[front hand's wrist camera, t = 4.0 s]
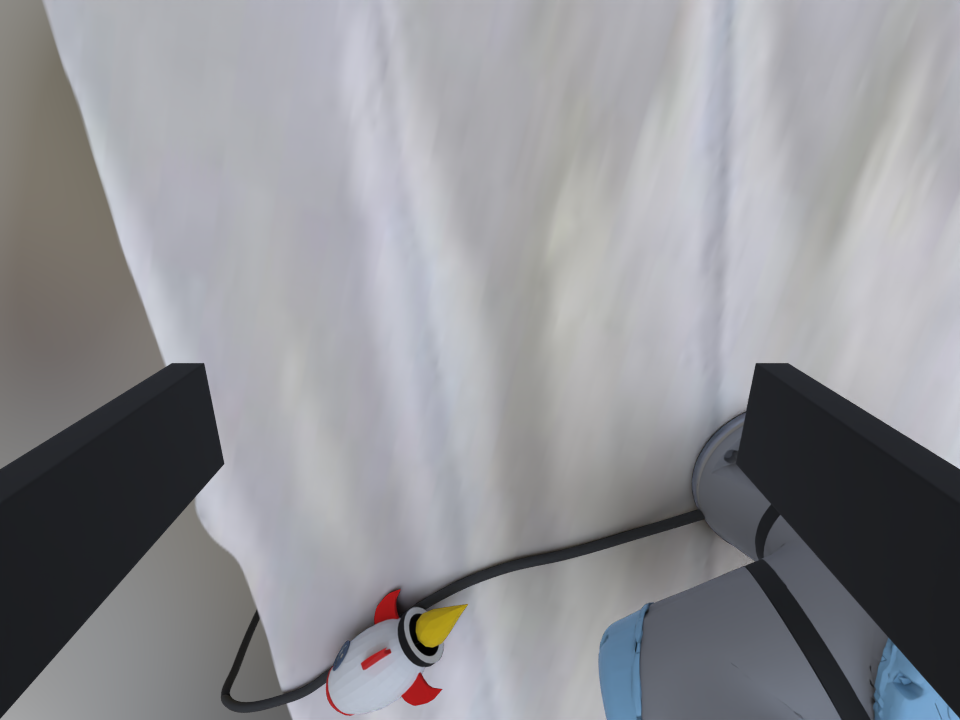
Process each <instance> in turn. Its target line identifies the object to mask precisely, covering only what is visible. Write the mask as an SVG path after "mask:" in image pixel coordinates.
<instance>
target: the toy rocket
mask: <svg viewBox="0 0 960 720" xmlns="http://www.w3.org/2000/svg"><path fill="white" fill-rule="evenodd" d="M400 590H401V589H399V590H397V591H394V592H391V593H389V594H388V595H386V596H385V597H384V599H383V600H382V601H381V602H380V603H379V605H378V606H377V608H376V611H375V616H374V624H375V625H373V626H372V627H370V628H368V629H366V630H365V631H363V632H362V633H360V634H359V635H358V636H357V637H355V638H354V639H353V640H352V641H347V642H346V643H345V644H344V645H343V647H342V648H341V650H340V652H339V653H338V655H337V657H336V659H335V662H334V665H333V666H332V667H331V669H330V671H329V673H328V677H327V682H326V695H327V699H328V701H329V703H330V705H331V706H332V707H333V708H334V709H335V710H336V711H338V712H340V713H342V714H344V715H349V716H351V715H355V714H366V713H370V712H373V711H376V710H379V709H382V708H384V707H386V706H388V705H389V704H391V703H393V702H394V701H396V700H397V699H399V698H400V697H402V698H403V699H404V700H405V701H406V702H407V703H409V704H411V705H414V706H417V705H421V704H425V703H428V702H430V701H431V700H433V699H434V698H435V697H436V696H437V695H438V694H439V693H440V691H441V690H442V689H438V688H432V687H431V686H429V685H428V684H427V682H426V681H425V679H424V678H423V676H422V673H423V672H424V669H425V667H429V666H431V665H433V664H434V663H436V662H437V661H439V659H440V658H441V657H442V653H443V647H444V644H443V641H444V640H445V638H446V637H447V636H448V634H449V633H450V631H451V630H452V628H453V627H454V625H455V623H456V622H457V620H458V618H459V617H460V615H461V614H462V612H463V611H464V610H465V608H466V607H467V605H468V604H465V605H457V606H450V607H444V608H437V609H432V610H430V611H426V610H424V609H423V608H420V607H413V608H411V609H409V610H408V611H407V612H405V613H404V614H403V615H402V617H401V618H399V616H398V613H397V607H396V600H397V597H398V594H399V592H400Z"/></svg>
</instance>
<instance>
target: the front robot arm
mask: <svg viewBox="0 0 960 720" xmlns="http://www.w3.org/2000/svg"><path fill="white" fill-rule="evenodd" d="M223 465H224V460H223V455H222V450H221V445H220V440H219V435H218V430H217V425H216V420H215V415H214V410H213V405H212V400H211V395H210V390H209V385H208V380H207V375H206V370H205V365H204V363H172V364H170V365H168V366H167V367H165V368H164V369H162V370H160V371H159V372H157V373H155V374H154V375H152V376H151V377H149V378H147V379H146V380H144V381H143V382H141V383H139V384H138V385H136V386H134V387H133V388H131V389H130V390H128V391H126V392H125V393H123V394H121V395H120V396H118V397H117V398H115V399H113V400H112V401H110V402H109V403H107V404H105V405H104V406H102V407H100V408H99V409H97V410H96V411H94V412H92V413H91V414H89V415H87V416H86V417H84V418H83V419H81V420H79V421H78V422H76V423H74V424H73V425H71V426H70V427H68V428H66V429H65V430H63V431H62V432H60V433H58V434H57V435H55V436H53V437H52V438H50V439H49V440H47V441H45V442H44V443H42V444H41V445H39V446H37V447H36V448H34V449H32V450H31V451H29V452H27V453H26V454H24V455H23V456H21V457H19V458H18V459H16V460H15V461H13V462H11V463H10V464H8V465H7V466H5V467H3V468H2V469H0V718H1V717H2V716H3V715H4V714H5V713H6V712H7V710H8V709H9V708H10V707H11V706H12V705H13V704H14V703H15V701H16V700H17V699H18V698H19V697H20V696H21V695H22V693H23V692H24V691H25V690H26V689H27V688H28V687H29V685H30V684H31V683H32V682H33V681H34V680H35V679H36V677H37V676H38V675H39V674H40V673H41V672H42V671H43V670H44V668H45V667H46V666H47V665H48V664H49V663H50V662H51V660H52V659H53V658H54V657H55V656H56V655H57V654H58V652H59V651H60V650H61V649H62V648H63V647H64V646H65V644H66V643H67V642H68V641H69V640H70V639H71V638H72V637H73V635H74V634H75V633H76V632H77V631H78V630H79V629H80V627H81V626H82V625H83V624H84V623H85V622H86V621H87V619H88V618H89V617H90V616H91V615H92V614H93V613H94V611H95V610H96V609H97V608H98V607H99V606H100V605H101V603H102V602H103V601H104V600H105V599H106V598H107V597H108V596H109V594H110V593H111V592H112V591H113V590H114V589H115V588H116V586H117V585H118V584H119V583H120V582H121V581H122V580H123V578H124V577H125V576H126V575H127V574H128V573H129V572H130V571H131V569H132V568H133V567H134V566H135V565H136V564H137V563H138V561H139V560H140V559H141V558H142V557H143V556H144V555H145V553H146V552H147V551H148V550H149V549H150V548H151V547H152V546H153V544H154V543H155V542H156V541H157V540H158V539H159V538H160V536H161V535H162V534H163V533H164V532H165V531H166V530H167V528H168V527H169V526H170V525H171V524H172V523H173V522H174V520H175V519H176V518H177V517H178V516H179V515H180V514H181V513H182V511H183V510H184V509H185V508H186V507H187V506H188V505H189V503H190V502H191V501H192V500H193V499H194V498H195V497H196V495H197V494H198V493H199V492H200V491H201V490H202V489H203V488H204V486H205V485H206V484H207V483H208V482H209V481H210V480H211V478H212V477H213V476H214V475H215V474H216V473H217V472H218V470H219V469H220V468H221V467H222V466H223ZM692 491H693V497H694V500H695V503H696V505H697V508H698V510H695V511H692V512H689V513H685V514H682V515H679V516H676V517H673V518H669V519H666V520H663V521H660V522H656V523H653V524H650V525H646V526H643V527H640V528H636V529H633V530H630V531H626V532H623V533H620V534H616V535H613V536H610V537H607V538H603V539H600V540H597V541H593V542H590V543H586V544H583V545H579V546H576V547H572V548H568V549H564V550H560V551H556V552H551V553H547V554H542V555H537V556H532V557H527V558H522V559H518V560H514V561H510V562H507V563H503V564H500V565H497V566H494V567H491V568H488V569H486V570H483V571H480V572H478V573H475V574H472V575H470V576H468V577H465V578H463V579H461V580H459V581H457V582H455V583H453V584H451V585H449V586H447V587H445V588H443V589H441V590H439V591H437V592H436V593H434V594H432V595H430V596H429V597H427V598H425V599H424V600H422V601H420V602H419V603H417V604H416V605H414V606H413V607H420V608H423V609H424V610H425V609H427V608H429V607H430V606H432V605H434V604H436V603H437V602H439V601H441V600H443V599H445V598H447V597H449V596H451V595H453V594H455V593H457V592H459V591H461V590H463V589H465V588H467V587H470V586H472V585H474V584H477V583H479V582H482V581H485V580H488V579H490V578H493V577H496V576H499V575H502V574H505V573H509V572H512V571H516V570H520V569H525V568H529V567H534V566H539V565H544V564H549V563H554V562H558V561H563V560H567V559H571V558H575V557H578V556H582V555H586V554H589V553H593V552H596V551H600V550H603V549H606V548H610V547H613V546H616V545H620V544H623V543H626V542H629V541H633V540H636V539H640V538H643V537H646V536H650V535H653V534H657V533H660V532H663V531H667V530H670V529H673V528H677V527H680V526H683V525H687V524H690V523H693V522H696V521H699V520H703V519H705V521H706V522H707V524H708V525H709V526H710V527H711V528H712V529H713V531H714V532H716V533H717V534H718V535H719V536H720V537H721V538H722V539H723V540H725V541H726V542H728V543H729V544H731V545H733V546H735V547H736V548H737V549H739V550H740V551H741V552H743V553H744V554H746V555H747V556H748V557H750V558H751V559H753V560H754V561H756V562H753V563H751V564H749V565H746V566H743V567H740V568H738V569H736V570H733V571H731V572H728V573H726V574H724V575H721V576H719V577H717V578H714V579H712V580H710V581H707V582H705V583H703V584H700V585H698V586H696V587H693V588H691V589H688V590H686V591H683V592H681V593H678V594H676V595H673V596H671V597H668V598H666V599H663V600H661V601H658V602H656V603H654V602H652V603H648V604H645V605H644V606H643V607H642V609H641V610H639V611H637V612H635V613H633V614H631V615H629V616H627V617H625V618H623V619H621V620H619V621H616V622H615V623H613V624H611V625H610V626H609V627H608V628H607V630H606V631H605V632H604V634H603V637H602V640H601V642H600V651H599V678H600V686H601V693H602V699H603V704H604V709H605V714H606V718H607V720H960V469H958V468H957V467H955V466H954V465H952V464H950V463H949V462H947V461H945V460H944V459H942V458H941V457H939V456H937V455H936V454H934V453H933V452H931V451H929V450H928V449H926V448H924V447H923V446H921V445H920V444H918V443H916V442H915V441H913V440H911V439H910V438H908V437H907V436H905V435H903V434H902V433H900V432H899V431H897V430H895V429H894V428H892V427H890V426H889V425H887V424H886V423H884V422H882V421H881V420H879V419H877V418H876V417H874V416H873V415H871V414H869V413H868V412H866V411H865V410H863V409H861V408H860V407H858V406H856V405H855V404H853V403H852V402H850V401H848V400H847V399H845V398H843V397H842V396H840V395H839V394H837V393H835V392H834V391H832V390H831V389H829V388H827V387H826V386H824V385H822V384H821V383H819V382H818V381H816V380H814V379H813V378H811V377H809V376H808V375H806V374H805V373H803V372H801V371H800V370H798V369H797V368H795V367H793V366H792V365H790V364H788V363H756V365H755V370H754V375H753V380H752V385H751V390H750V395H749V400H748V405H747V410H746V412H745V413H743V414H741V415H739V416H738V417H736V418H734V419H733V420H731V421H730V422H728V423H727V424H726V425H724V426H723V427H722V428H721V429H719V430H718V431H717V432H716V433H715V434H714V435H713V436H712V437H711V439H710V440H709V441H708V442H707V444H706V445H705V447H704V448H703V450H702V451H701V453H700V455H699V457H698V459H697V462H696V464H695V468H694V472H693V477H692ZM413 607H411V608H413ZM411 608H410V609H411ZM408 610H409V609H408ZM408 610H407V611H408ZM407 611H406V612H407ZM404 613H405V612H404ZM404 613H403V614H404ZM403 614H402V615H403ZM402 615H400V616H399V618H401V617H402ZM259 620H260V615H259V612H258V609H257V610H256V612H255V614H254V616H253V618H252V620H251V622H250V625H249V627H248V629H247V631H246V633H245V636H244V638H243V640H242V643H241V645H240V648H239V650H238V653H237V655H236V658H235V660H234V663H233V666H232V668H231V670H230V672H229V675H228V677H227V678H226V680H225V683H224V685H223V687H222V691H221V701H222V703H223V704H224V706H225V707H227V708H228V709H230V710H232V711H235V712H241V713H248V712H256V711H261V710H265V709H269V708H273V707H276V706H280V705H283V704H286V703H290V702H293V701H295V700H298V699H300V698H303V697H305V696H307V695H309V694H310V693H312V692H313V691H315V690H316V689H318V688H319V687H321V686H322V685H323V684H325V683H326V682H327V677H328V673H329V671H330V669H331V668H330V669H329V670H328V671H326V672H325V673H324V674H322V675H321V676H320V677H318V678H317V679H316V680H314V681H313V682H311V683H310V684H308V685H306V686H304V687H302V688H300V689H298V690H295V691H293V692H289V693H286V694H283V695H280V696H276V697H273V698H269V699H265V700H261V701H255V702H239V701H236V700H234V699H232V697H231V696H230V690H231V687H232V685H233V683H234V680H235V678H236V676H237V674H238V672H239V669H240V667H241V664H242V662H243V659H244V656H245V653H246V651H247V648H248V646H249V643H250V641H251V638H252V636H253V633H254V631H255V629H256V626H257V624H258V622H259Z"/></svg>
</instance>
